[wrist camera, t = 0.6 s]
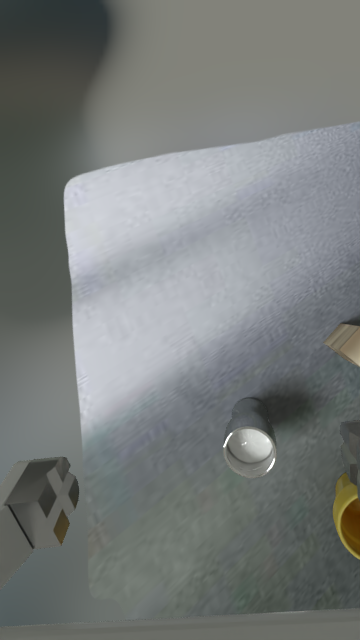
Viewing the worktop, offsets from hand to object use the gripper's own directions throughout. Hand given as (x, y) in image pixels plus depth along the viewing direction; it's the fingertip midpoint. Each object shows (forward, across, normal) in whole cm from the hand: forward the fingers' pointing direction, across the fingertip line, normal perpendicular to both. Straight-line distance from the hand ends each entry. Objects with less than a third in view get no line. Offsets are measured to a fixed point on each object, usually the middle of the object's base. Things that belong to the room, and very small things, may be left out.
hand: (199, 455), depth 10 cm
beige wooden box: (+42, +19, -21) cm, 51 cm away
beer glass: (+39, +3, -31) cm, 50 cm away
